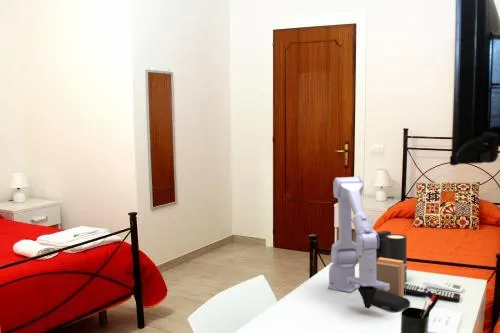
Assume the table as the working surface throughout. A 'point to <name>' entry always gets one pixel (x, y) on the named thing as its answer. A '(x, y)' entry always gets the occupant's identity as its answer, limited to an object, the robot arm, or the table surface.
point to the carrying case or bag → (389, 301)
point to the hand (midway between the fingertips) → (368, 307)
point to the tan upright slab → (391, 275)
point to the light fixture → (392, 247)
